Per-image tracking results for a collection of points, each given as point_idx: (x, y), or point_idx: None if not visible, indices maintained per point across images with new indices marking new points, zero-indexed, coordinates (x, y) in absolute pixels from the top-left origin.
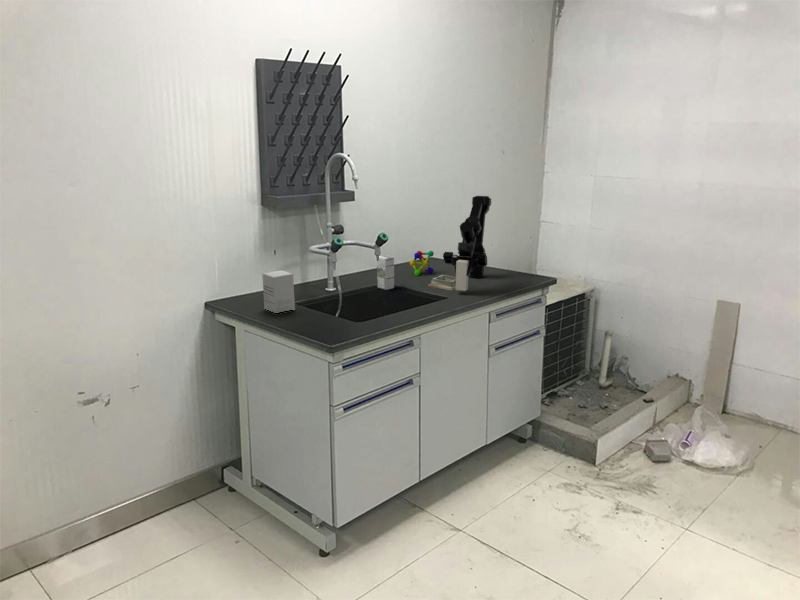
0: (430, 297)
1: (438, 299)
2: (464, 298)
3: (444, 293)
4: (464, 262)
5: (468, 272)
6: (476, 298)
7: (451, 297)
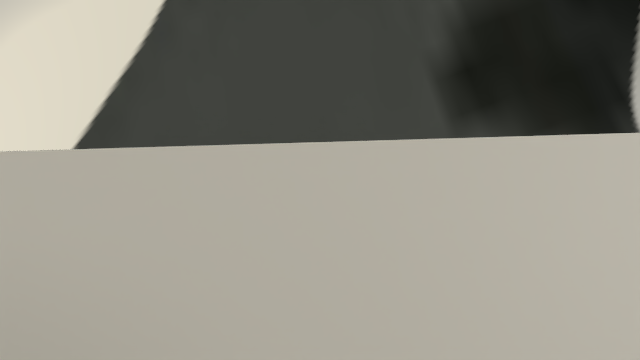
0: (623, 54)
1: (511, 14)
2: None
3: None
4: (113, 155)
5: None
6: None
7: (409, 133)
